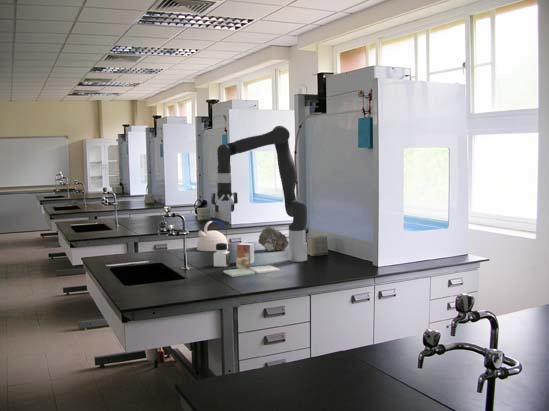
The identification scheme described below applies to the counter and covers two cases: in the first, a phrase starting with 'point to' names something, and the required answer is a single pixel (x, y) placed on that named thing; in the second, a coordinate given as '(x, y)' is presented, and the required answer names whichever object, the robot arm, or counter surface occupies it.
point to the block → (242, 263)
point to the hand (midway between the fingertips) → (224, 212)
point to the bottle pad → (239, 272)
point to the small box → (246, 251)
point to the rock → (272, 239)
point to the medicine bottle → (221, 255)
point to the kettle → (210, 238)
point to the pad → (264, 269)
